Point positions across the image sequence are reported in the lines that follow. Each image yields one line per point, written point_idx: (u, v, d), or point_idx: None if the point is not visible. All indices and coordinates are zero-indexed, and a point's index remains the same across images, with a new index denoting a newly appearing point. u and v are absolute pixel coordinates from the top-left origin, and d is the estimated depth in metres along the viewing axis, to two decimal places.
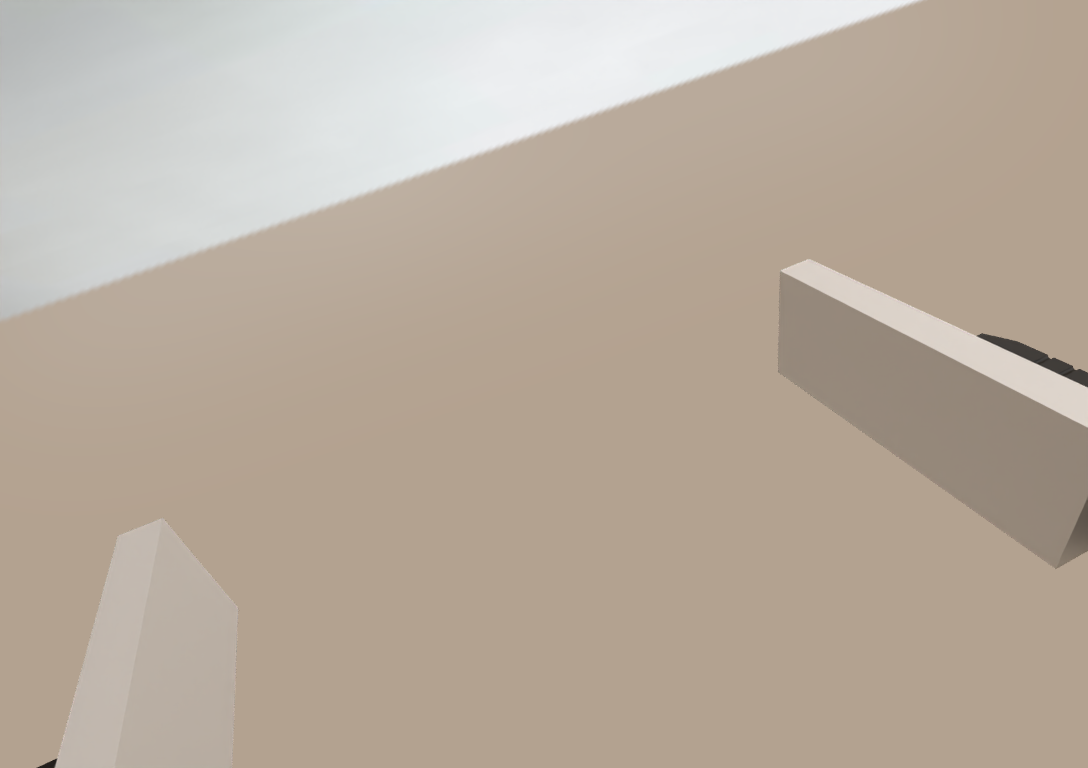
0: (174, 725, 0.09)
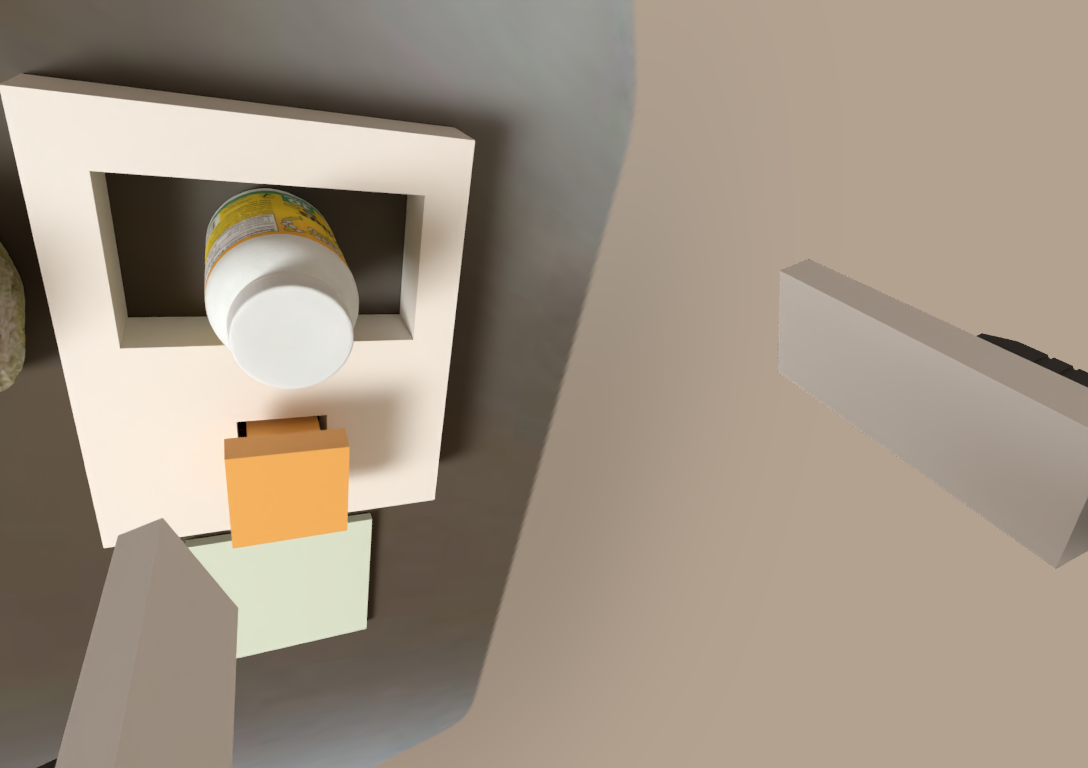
0: (174, 725, 0.09)
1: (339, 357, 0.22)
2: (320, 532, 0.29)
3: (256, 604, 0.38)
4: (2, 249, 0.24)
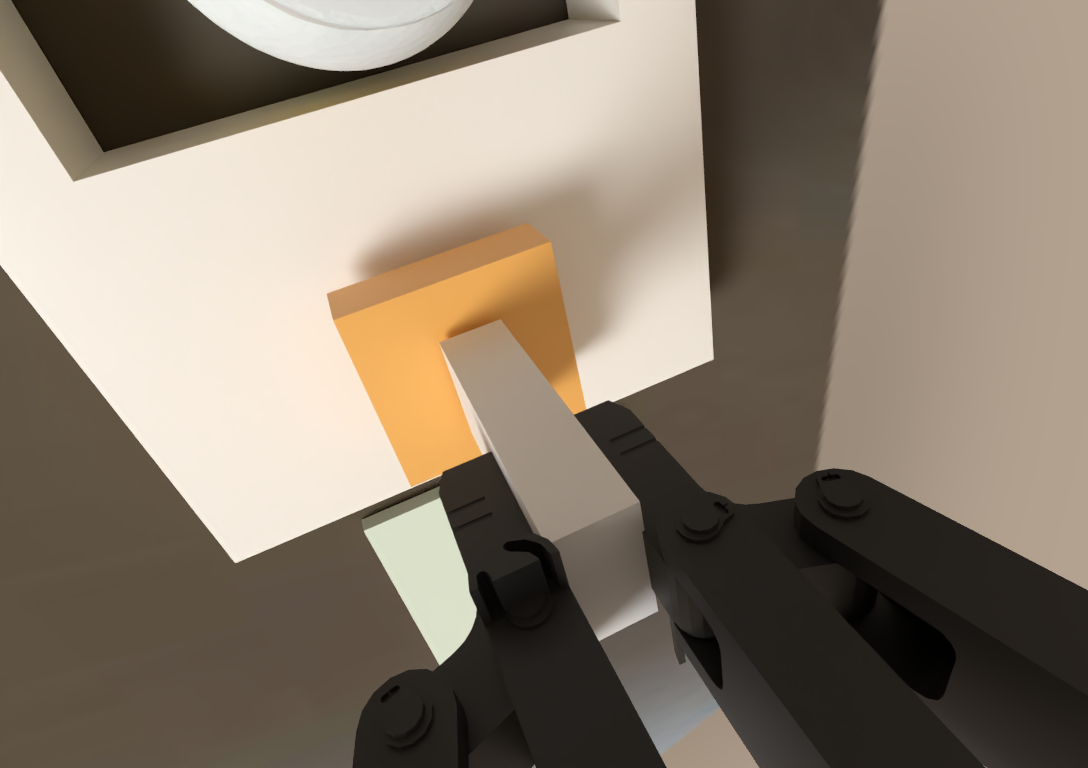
0: None
1: None
2: None
3: None
4: None
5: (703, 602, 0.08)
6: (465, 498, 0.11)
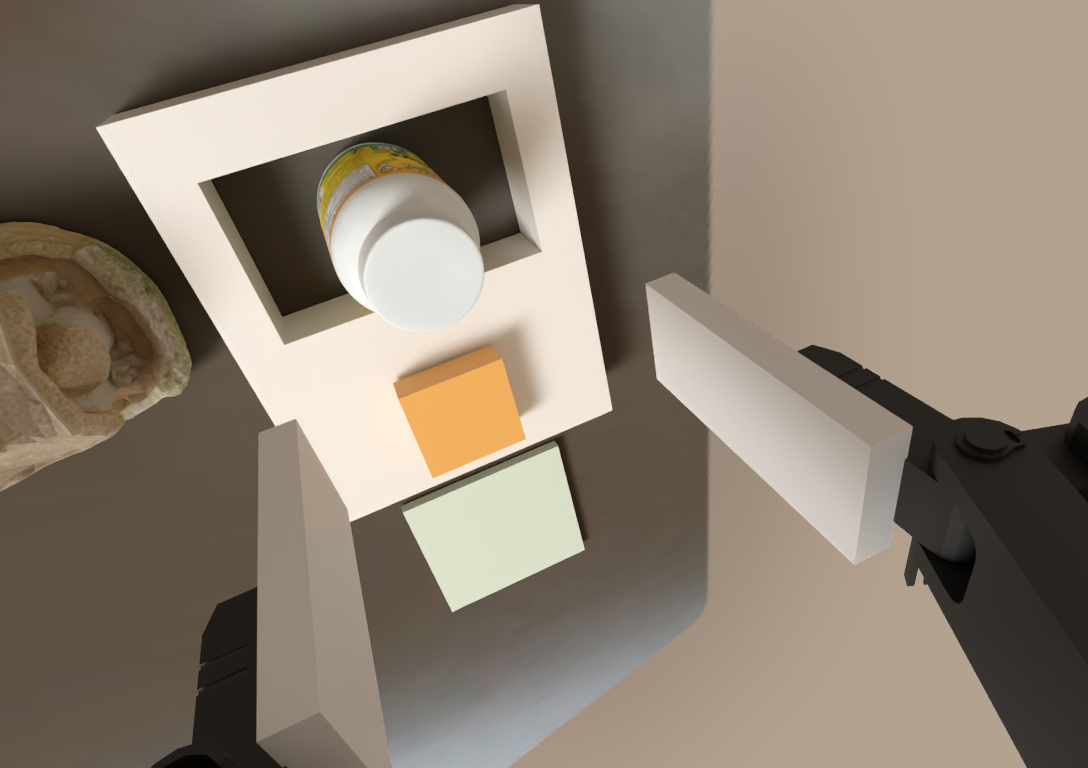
0: (332, 573, 0.10)
1: (475, 283, 0.21)
2: (502, 446, 0.31)
3: (479, 549, 0.40)
4: (125, 258, 0.25)
5: (972, 509, 0.08)
6: (227, 644, 0.09)
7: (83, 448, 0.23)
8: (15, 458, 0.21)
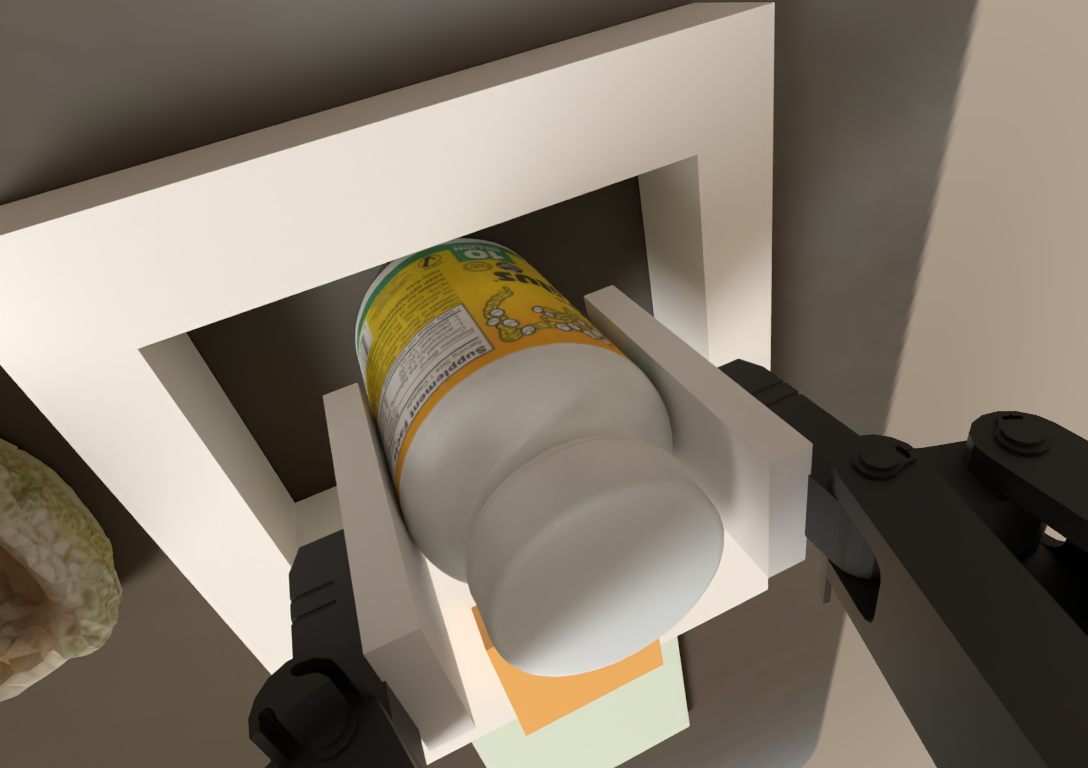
0: (403, 521, 0.11)
1: (702, 578, 0.10)
2: (630, 679, 0.20)
3: (559, 748, 0.29)
4: None
5: (872, 530, 0.08)
6: (314, 581, 0.10)
7: None
8: None
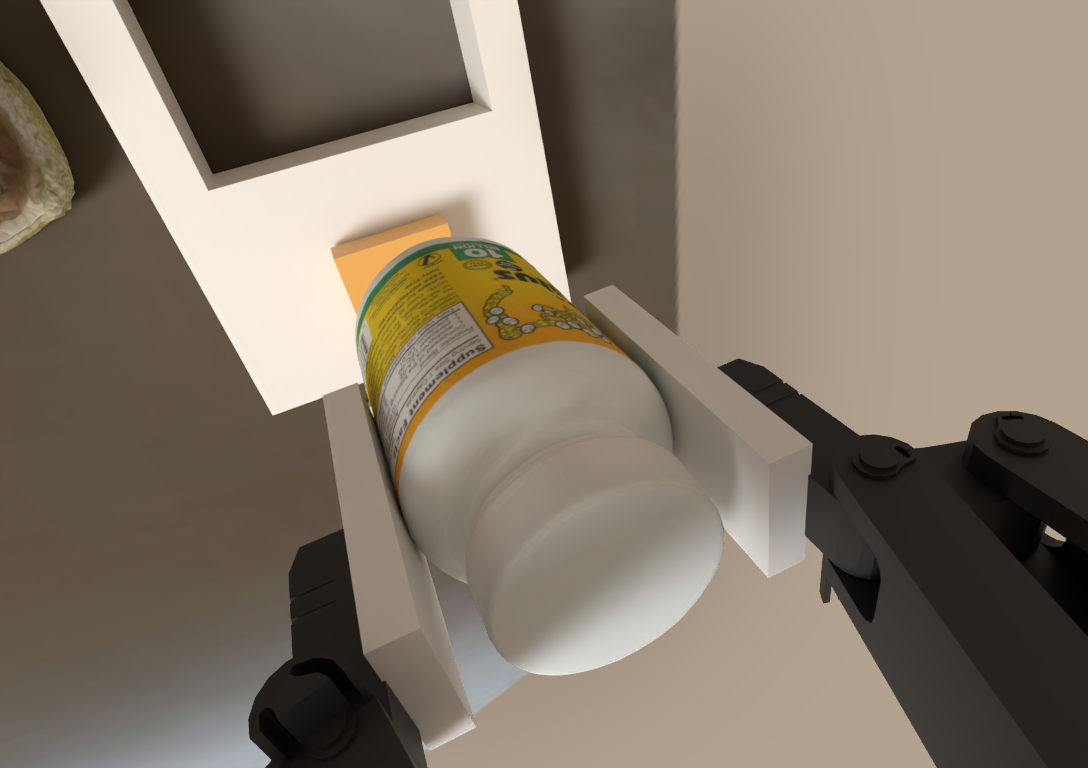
0: (403, 521, 0.11)
1: (702, 576, 0.10)
2: None
3: None
4: None
5: (872, 530, 0.08)
6: (313, 581, 0.10)
7: None
8: None
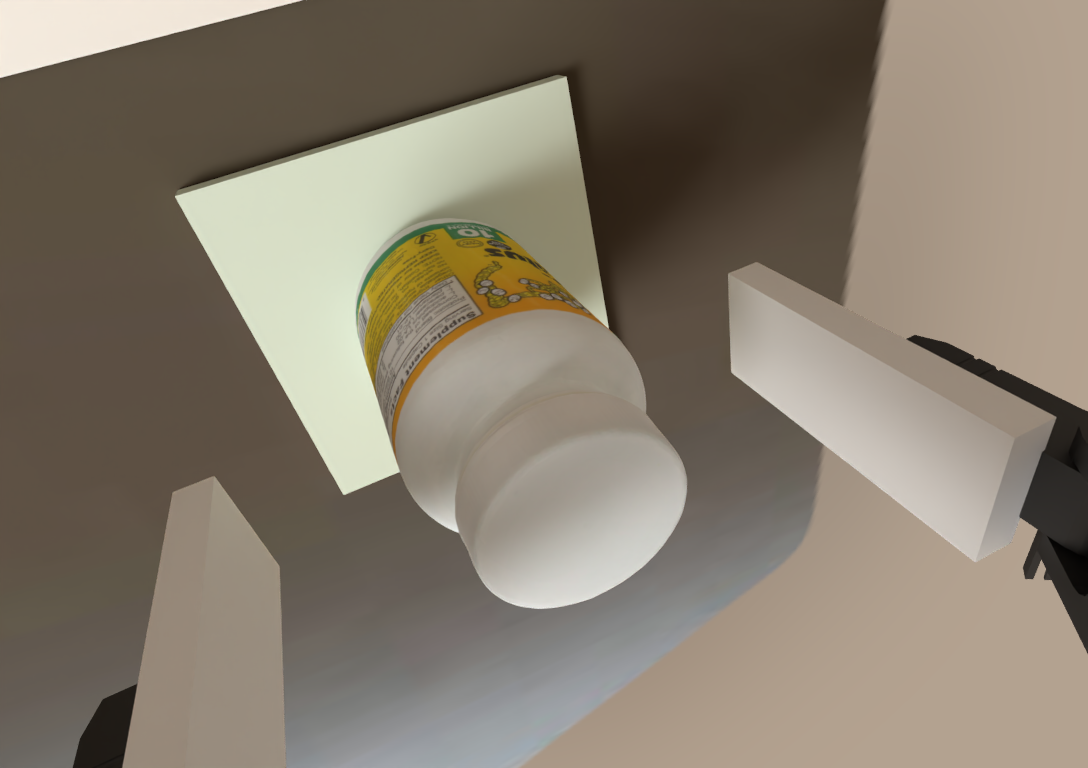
0: (236, 659, 0.09)
1: (667, 521, 0.11)
2: None
3: None
4: None
5: None
6: (104, 752, 0.08)
7: None
8: None
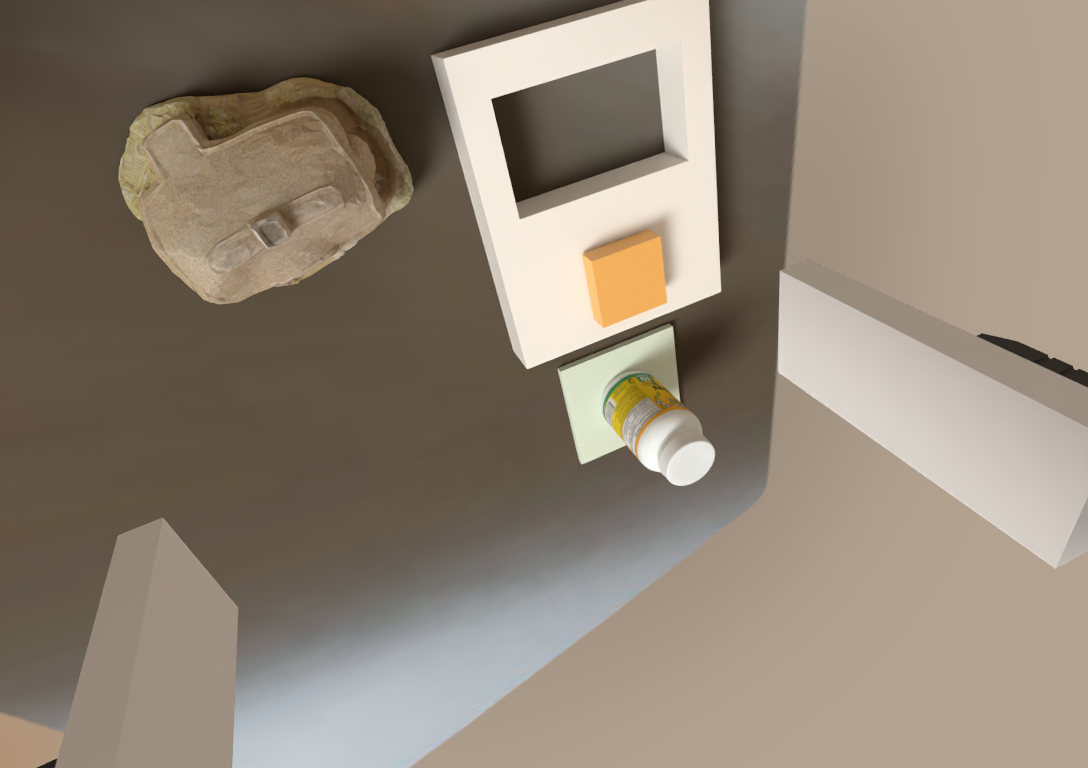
0: (174, 725, 0.09)
1: (709, 463, 0.45)
2: (651, 307, 0.43)
3: None
4: None
5: None
6: None
7: (366, 231, 0.33)
8: (338, 226, 0.30)
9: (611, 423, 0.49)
